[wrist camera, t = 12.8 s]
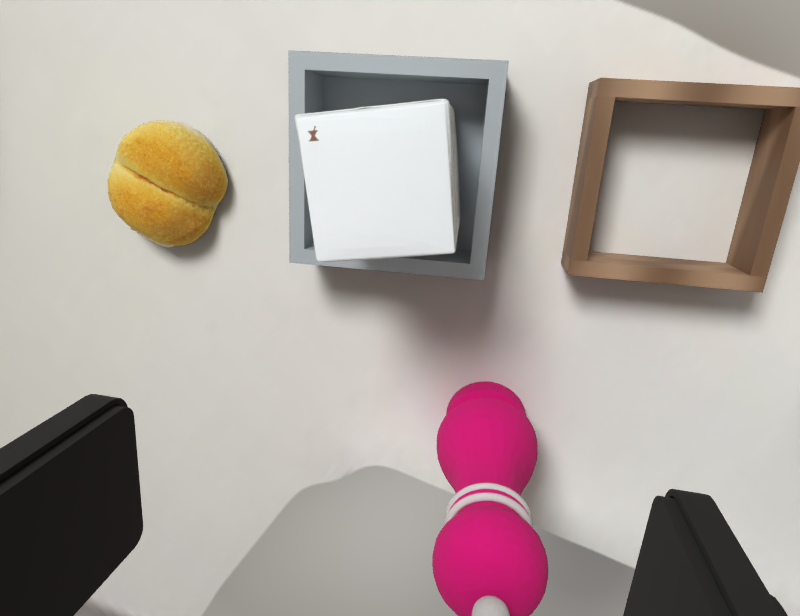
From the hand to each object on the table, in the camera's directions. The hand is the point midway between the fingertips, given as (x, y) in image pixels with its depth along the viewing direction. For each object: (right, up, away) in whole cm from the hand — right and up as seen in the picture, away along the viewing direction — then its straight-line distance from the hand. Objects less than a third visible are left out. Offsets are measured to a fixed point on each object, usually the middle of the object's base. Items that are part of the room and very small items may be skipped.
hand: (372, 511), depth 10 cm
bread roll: (-16, +13, +32) cm, 38 cm away
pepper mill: (+7, -5, +34) cm, 35 cm away
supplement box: (+1, +13, +28) cm, 31 cm away
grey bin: (+1, +14, +29) cm, 32 cm away
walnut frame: (+18, +12, +27) cm, 35 cm away
